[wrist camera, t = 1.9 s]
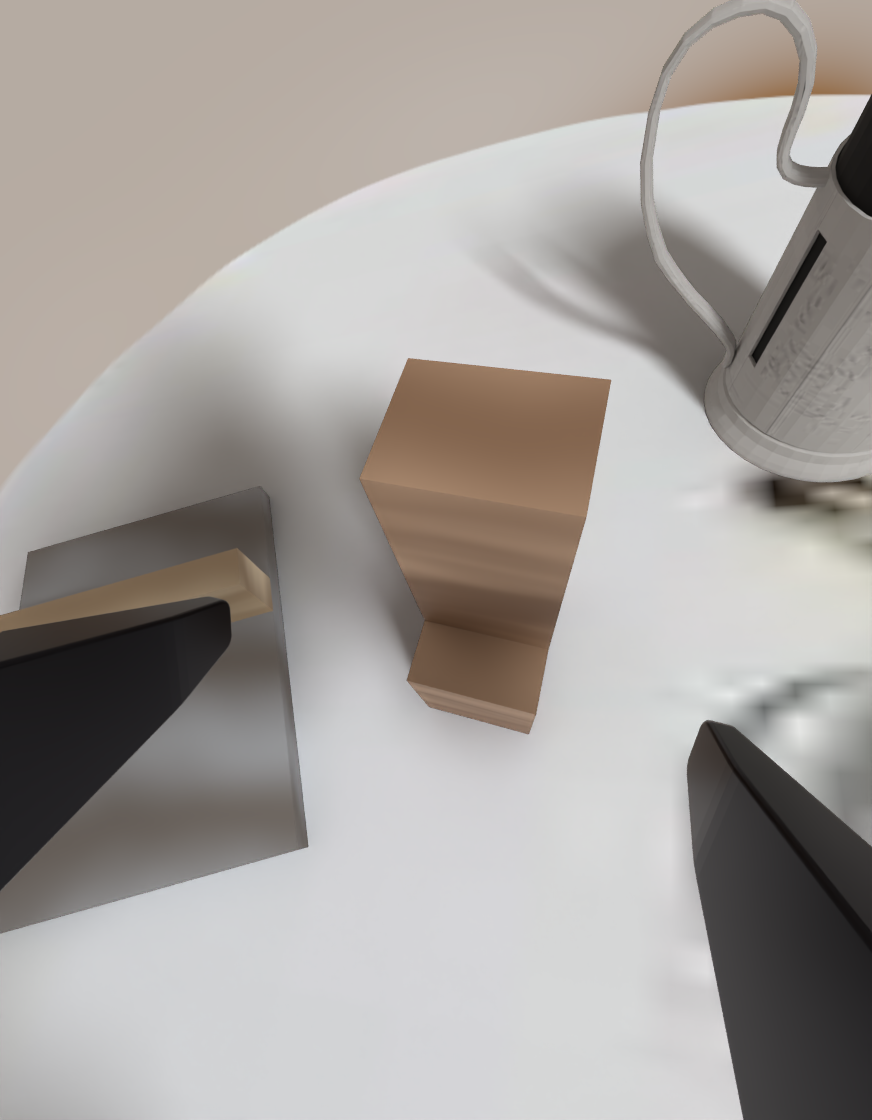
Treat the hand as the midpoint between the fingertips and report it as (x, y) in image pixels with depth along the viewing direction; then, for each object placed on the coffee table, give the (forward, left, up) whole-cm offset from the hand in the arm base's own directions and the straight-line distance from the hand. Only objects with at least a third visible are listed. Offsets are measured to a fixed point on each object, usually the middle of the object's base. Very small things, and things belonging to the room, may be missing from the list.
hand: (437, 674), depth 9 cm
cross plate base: (+6, +13, -11) cm, 18 cm away
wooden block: (+4, -2, -11) cm, 12 cm away
